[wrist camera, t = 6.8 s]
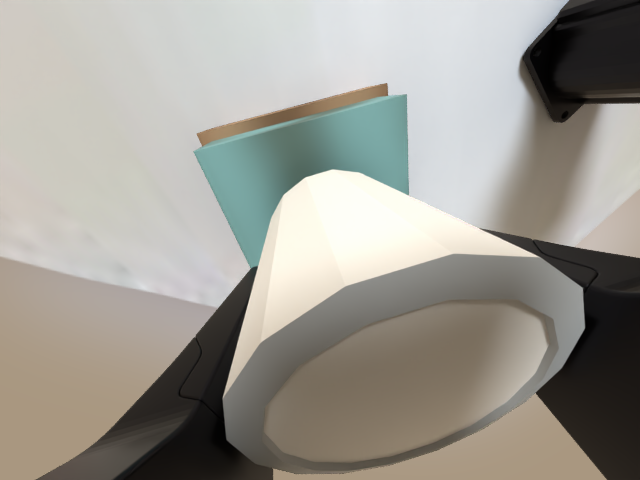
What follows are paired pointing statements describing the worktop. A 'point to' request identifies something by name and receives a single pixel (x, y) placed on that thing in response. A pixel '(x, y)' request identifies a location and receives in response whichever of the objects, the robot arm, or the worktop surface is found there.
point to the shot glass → (387, 330)
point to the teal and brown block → (302, 155)
